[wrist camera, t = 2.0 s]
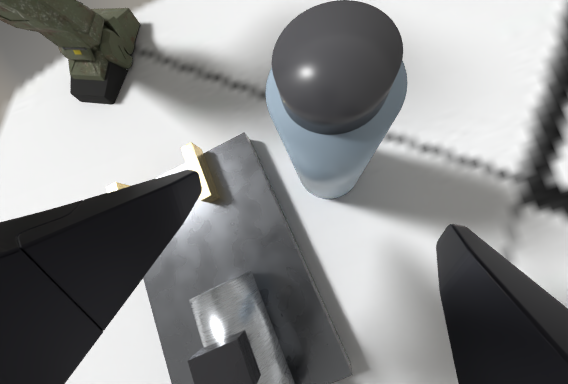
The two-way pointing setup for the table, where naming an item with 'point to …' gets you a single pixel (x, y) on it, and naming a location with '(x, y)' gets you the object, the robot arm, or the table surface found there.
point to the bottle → (335, 91)
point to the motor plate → (236, 253)
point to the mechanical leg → (82, 41)
